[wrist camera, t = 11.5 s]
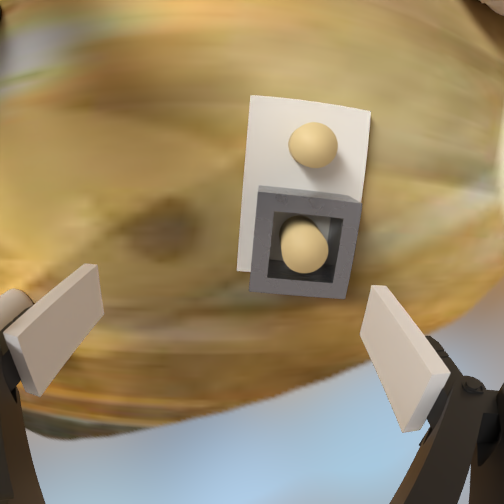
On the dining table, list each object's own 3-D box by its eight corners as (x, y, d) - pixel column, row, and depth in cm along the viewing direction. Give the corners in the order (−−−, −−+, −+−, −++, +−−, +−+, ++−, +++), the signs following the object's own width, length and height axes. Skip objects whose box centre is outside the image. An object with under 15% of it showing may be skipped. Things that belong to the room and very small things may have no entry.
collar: (258, 185, 31) (257, 191, 26) (348, 195, 31) (362, 203, 26) (251, 271, 34) (248, 291, 29) (334, 278, 34) (345, 299, 29)
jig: (251, 97, 29) (247, 83, 23) (367, 112, 29) (390, 104, 23) (237, 266, 35) (231, 293, 29) (345, 276, 35) (360, 303, 28)
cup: (36, 295, 38) (-1, 324, 29) (43, 349, 41) (13, 381, 32) (4, 281, 37) (-33, 306, 29) (12, 334, 41) (-19, 362, 32)
